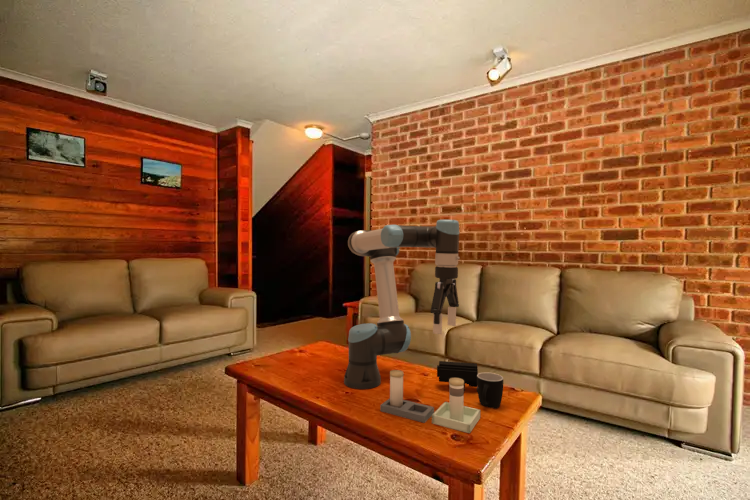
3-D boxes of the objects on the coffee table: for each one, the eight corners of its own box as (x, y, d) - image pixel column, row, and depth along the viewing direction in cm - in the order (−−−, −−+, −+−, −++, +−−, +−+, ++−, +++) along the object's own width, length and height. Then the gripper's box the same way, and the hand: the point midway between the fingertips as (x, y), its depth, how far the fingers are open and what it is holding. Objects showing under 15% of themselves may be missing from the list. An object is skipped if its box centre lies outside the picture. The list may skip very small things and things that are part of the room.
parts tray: (431, 424, 113) (431, 415, 113) (444, 410, 124) (445, 401, 124) (469, 435, 107) (469, 424, 107) (480, 419, 118) (480, 409, 118)
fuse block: (380, 412, 122) (380, 373, 122) (391, 403, 129) (391, 366, 129) (424, 424, 114) (424, 382, 114) (434, 414, 121) (434, 375, 121)
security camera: (486, 394, 137) (486, 368, 137) (436, 390, 141) (436, 365, 141) (484, 388, 144) (484, 362, 144) (437, 384, 148) (437, 359, 148)
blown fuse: (447, 420, 115) (447, 381, 115) (452, 415, 119) (451, 376, 119) (461, 424, 113) (461, 384, 112) (465, 418, 116) (465, 379, 116)
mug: (480, 397, 135) (481, 370, 135) (506, 403, 130) (506, 375, 130) (470, 409, 124) (470, 380, 124) (497, 416, 120) (497, 385, 120)
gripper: (444, 269, 108) (442, 339, 109) (468, 264, 130) (466, 323, 130) (421, 267, 112) (419, 335, 113) (448, 263, 134) (446, 321, 134)
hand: (444, 329), depth 122 cm, fingers open, 13 cm apart
